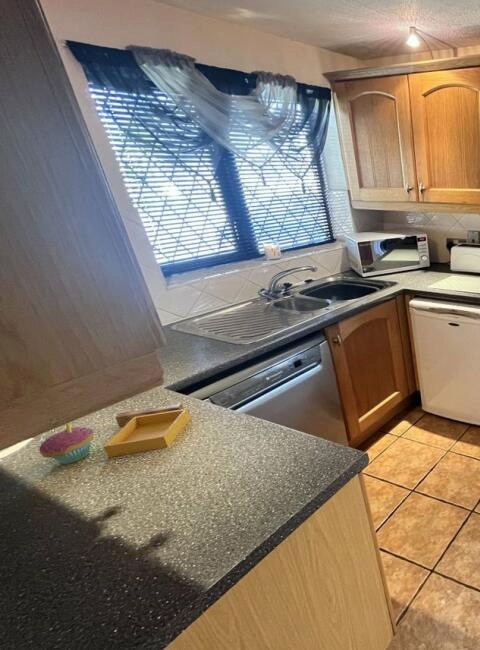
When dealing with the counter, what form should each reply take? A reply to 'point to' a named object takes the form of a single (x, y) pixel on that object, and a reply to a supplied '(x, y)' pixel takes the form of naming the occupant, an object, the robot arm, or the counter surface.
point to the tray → (148, 432)
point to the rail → (145, 413)
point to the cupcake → (68, 445)
